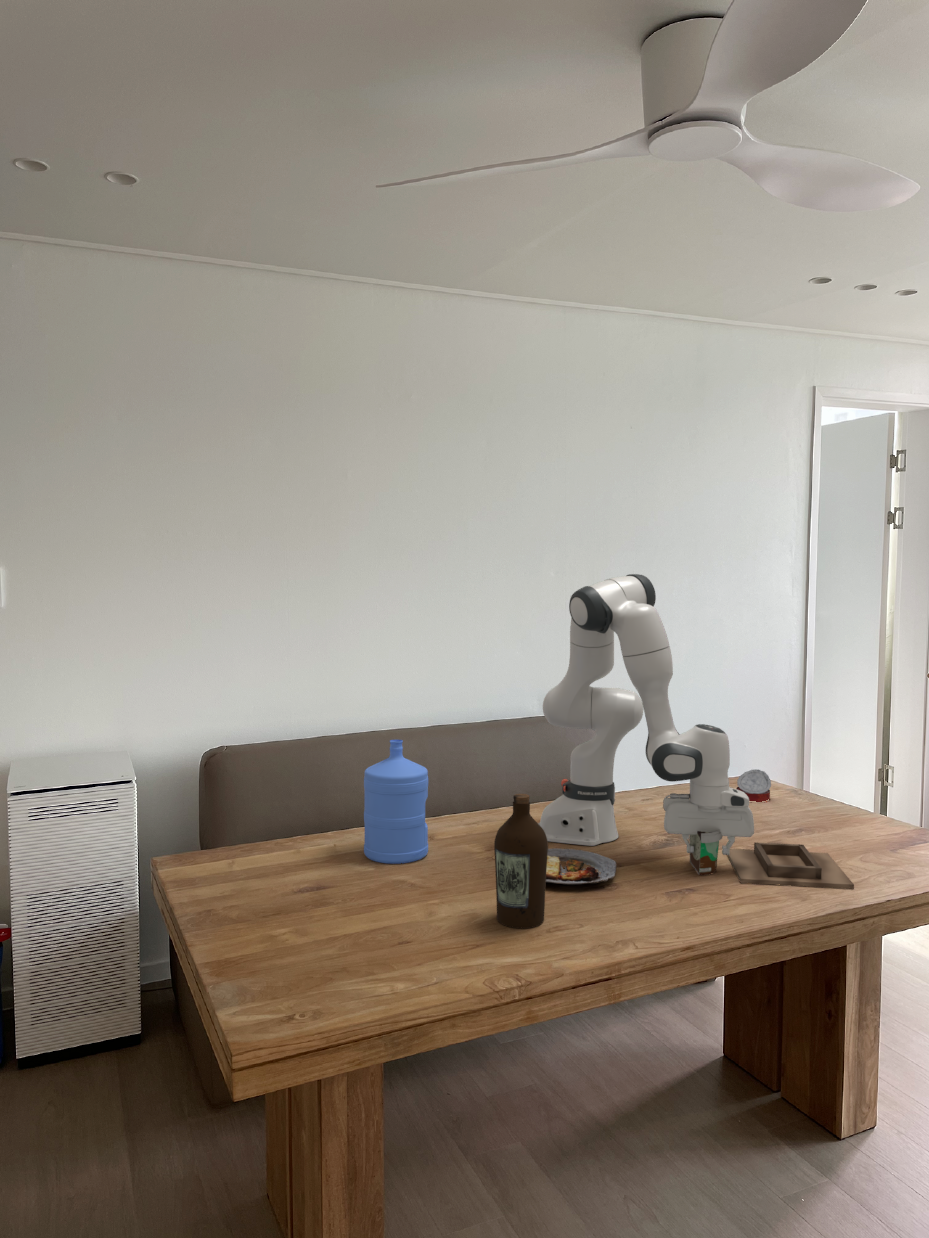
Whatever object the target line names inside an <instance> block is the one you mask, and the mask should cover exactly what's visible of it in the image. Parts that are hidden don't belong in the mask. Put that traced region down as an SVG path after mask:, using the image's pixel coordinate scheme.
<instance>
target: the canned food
mask: <svg viewBox="0 0 929 1238" xmlns="http://www.w3.org/2000/svg"><path fill="white" fill-rule="evenodd" d="M736 783H737V787H736V788H735V789H737V790H740V791H742V792H744V793H745V794H746V795H747V796H748V798H749V801H756V802H762V801H766V800H768V799H770V800H771V787H772V780H771V778H770V776H769V774H767V772H765V771H764V770H761V769H751V770H747V771H744V772H743V773H742V774H741V775H739V777H738V779H737V781H736Z"/></svg>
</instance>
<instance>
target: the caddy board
mask: <svg viewBox="0 0 929 1238" xmlns="http://www.w3.org/2000/svg"><path fill="white" fill-rule="evenodd" d="M753 845H754V846H753V849H749V848H747V849H746V848H730V854H729V855H728V856H727V858H728V859H729V862H730V864H731V867H732V868H733V870H734V872H735V875H736V874H737V875H736V877H737V876H738V877H737V879H738V881H739V880H740V881H739V883H740V882H741V883H740V884H745V883H752V884H751V885H765V884H780V885H779V886H784V885H791V886H790V887H803V886H806V887H805V888H807V887H808V886H810V887H808V888H823V887H833V888H832V889H842V888H846V889H847V890H854V889H855V884H854V883H853V881H852V880H851V879H850V878H849V877H848V875H847V874H846V873H845V872H844V871H843V869H841V867H840V866H839V865H838V863H836V861H835V860H834V859H833V858H832V856H831V855H830V854H829V853H828V852H812V851H809V850H808V849H807V848H806V847H805V845H804V844H800V843H799V844H798V843H778V842H777V843H776V842H774V843H773V842H756V841H755V842H754V843H753Z"/></svg>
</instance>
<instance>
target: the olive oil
mask: <svg viewBox="0 0 929 1238" xmlns="http://www.w3.org/2000/svg"><path fill="white" fill-rule="evenodd" d="M530 812H531V802H530V795H529V794H527V793H516V794H514V795H513V801H512V814H511V815H510V816H509V818H507V820H506V821H505V822H504V823H503V824H502V825H501V826H500V827H499V828H498V830H497V831H496V834H495V838H494V843H493V845H494V846H493V847H494V867H495V869H494V870H495V889H496V890H495V892H496V893H495V896H496V897H495V898H496V920H497V922H499V924H501V925H503V926H506V927H509V928H513V929H514V928H516V929H532V928H535V927H538V926H540V925H542V924H543V922H544V921H545V905H546V884H547V882H546V869H547V854H548V849H549V841H547V837H546V834H545V832H544V830H543V829H542V827H541V826H540V825H539V824H538V823H539V822H537V821H536V820H535V818H534V817H533V816H532V815H531V813H530Z"/></svg>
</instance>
